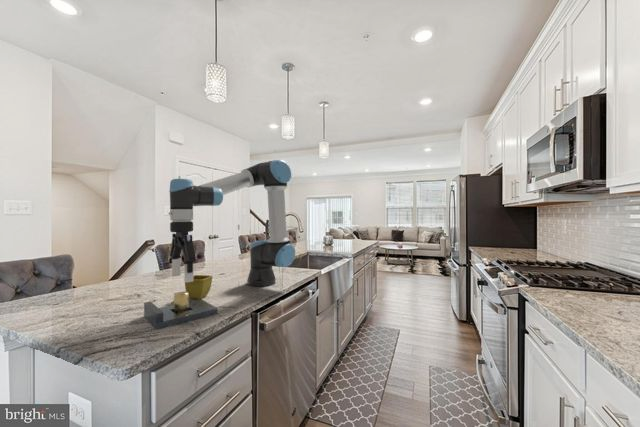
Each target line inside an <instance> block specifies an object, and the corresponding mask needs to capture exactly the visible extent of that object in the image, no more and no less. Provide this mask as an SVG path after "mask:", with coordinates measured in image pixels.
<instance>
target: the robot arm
mask: <svg viewBox="0 0 640 427" xmlns="http://www.w3.org/2000/svg"><path fill="white" fill-rule="evenodd" d="M291 178H292V171H291V168H290V165H288V163H287V162H286V161H284V160H282V159H273V160H269V161H263V162H258V163H257V164H254V165H252V166H249V167H247V168H245V169H242V170H240V172H238V173H235V174H230V175H229V176H226V177H225V176H224V177H223V178H222V177H221V178H218V179H216V180H213V181H210V182H207V183H203V184H200V185H198V186H197V185H194V183H193V180H191V179H187V178H173V179H171V180H170V182H169V191H168V192H169V206H170V207H169V210H170V211H169V212H168V215H169V216H170V218H169V219H170V221H171V222H170V223H169V231H170V232H171V233H172V235H171V236H172V239H171V244H170V245H171V247H170V253H169V257H170V258H171V277H173V278H174V277H178V276H179V277H180V276H181V259H182V255H183V258H184V259H183V260H184V261H183V265H184V268H183V269H184V279H185V280H184V284H185V283H187V282H193V281H194V279H193V276H194V264H195V262H197V257H196V253H195V246H194V242H193V234H189V233H191V232H193V231H194V222H193V220H194V207H206V206H208V207H209V206H210V207H214V206H220V205H222V203H223V201H224V195H227V194H230V193H233V192H235V191H238V190H242V189H244V188H252V187H256V186H263V189H265V190H266V191H267V207H268V209H267V211H268V225H269V226H268V227H269V238H268V239H267V240H266V239H265V240H260V241H259V240H257V241H253V242H251V243H250V249H249V252H250V270H249V274H248V275H247V279H246V280H247V281H246V284H247V285H248V286H251V287H265V286H266V287H267V286H272V285H274V284H276V280H277V278H276V275H275V273H274V270H273V266H274V267H278V268H287V267H289V266H290V265H291V264H292V263H293V262H294V259H295V257H296V249H295V247H294V246H293V245H292V244H291V240H290V238H289V237H288V232H287V217H286V215H287V214H286V198H285V197H286V194H285V190H286V189H288V188H287V187H288V183H289V182H290V181H291ZM181 252H182V255H181Z"/></svg>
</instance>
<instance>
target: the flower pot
mask: <svg viewBox="0 0 640 427" xmlns="http://www.w3.org/2000/svg"><path fill="white" fill-rule="evenodd" d="M193 279H194V281H193V282H187V283H185V282H184V288H185V291H186V292H189V299H195V300H198V299H203V298H205V297H207V295H208V294H209V293H210V290H211V288H212V282H213V275H205V274H204V275H202V274H193ZM184 281H185V278H184Z"/></svg>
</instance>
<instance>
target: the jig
mask: <svg viewBox="0 0 640 427" xmlns="http://www.w3.org/2000/svg"><path fill="white" fill-rule="evenodd" d="M218 310H219V308H218V307H217V306H215V305H212V304H211V303H209V302H207V301H205V300H203V298H201V299H194V300H189V311H185V312H180V313H176V314H175V313H174V304H170V305H167V306H162V307H158V306H157V305H155V304H154V303H153V302H152V301H151V300H150V301H147V302H146V301H145V302H143V317H144V319H146V320H147V321H148V322H149V324H150V325H151V326H152V327H153V328H154V329H155V330H156V331H157V330H160V329H164V328H168V327H171V326H175V325H179V324H183V323H188V322H191V321H195V320H198V319H201V318H206V317H210V316H213V315H217V314H219V313H218Z"/></svg>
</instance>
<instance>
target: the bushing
mask: <svg viewBox="0 0 640 427" xmlns="http://www.w3.org/2000/svg"><path fill="white" fill-rule="evenodd" d="M189 299H190V297H189V292H186V290H185V291H177V292H175V293H174V294H173V305H174V313H175V314H176V313H180V312H185V311H189V301H190V300H189Z"/></svg>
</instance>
